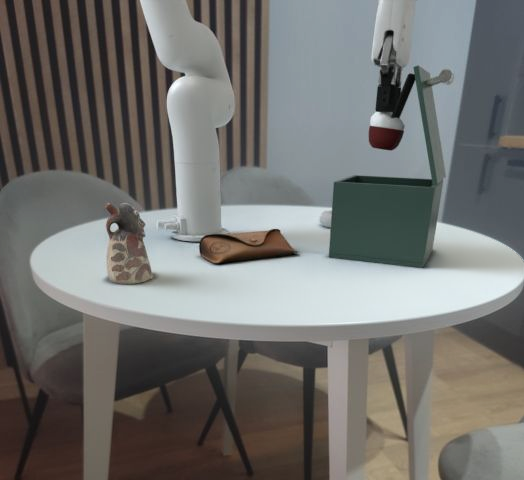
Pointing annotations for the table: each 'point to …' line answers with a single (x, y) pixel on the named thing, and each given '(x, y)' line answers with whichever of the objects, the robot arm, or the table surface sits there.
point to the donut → (326, 218)
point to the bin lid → (431, 118)
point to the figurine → (126, 246)
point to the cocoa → (390, 121)
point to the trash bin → (384, 219)
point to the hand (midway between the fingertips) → (387, 110)
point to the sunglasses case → (244, 246)
